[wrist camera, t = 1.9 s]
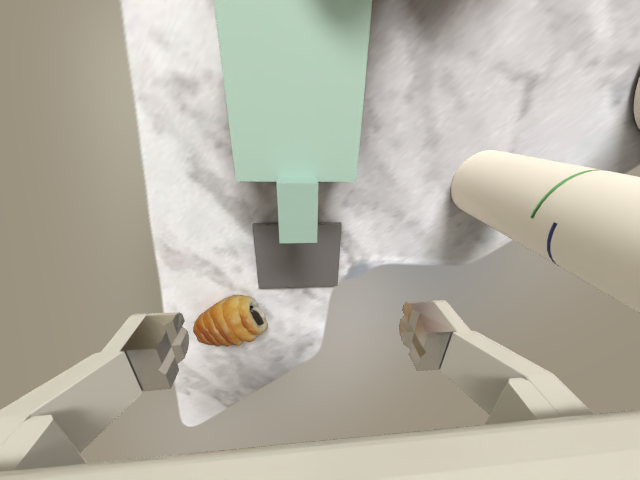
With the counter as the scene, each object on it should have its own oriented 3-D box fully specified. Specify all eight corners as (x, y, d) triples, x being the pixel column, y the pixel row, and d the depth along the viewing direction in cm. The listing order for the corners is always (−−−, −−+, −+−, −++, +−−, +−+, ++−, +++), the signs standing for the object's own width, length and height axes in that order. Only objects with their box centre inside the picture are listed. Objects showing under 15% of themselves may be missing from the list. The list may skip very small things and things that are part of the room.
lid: (371, -23, 16) (386, -50, 13) (350, 227, 23) (357, 242, 21) (212, -35, 15) (194, -67, 12) (243, 228, 23) (237, 244, 20)
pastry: (213, 343, 37) (204, 366, 33) (185, 310, 34) (172, 332, 30) (272, 321, 36) (269, 342, 32) (248, 285, 33) (243, 305, 29)
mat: (340, 222, 30) (341, 224, 29) (336, 282, 34) (337, 285, 33) (253, 223, 29) (252, 225, 28) (259, 285, 33) (259, 288, 32)
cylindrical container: (447, 216, 31) (858, 493, 8) (454, 155, 27) (1156, 339, 5) (505, 207, 31) (1062, 455, 8) (518, 145, 28) (1478, 282, 5)
